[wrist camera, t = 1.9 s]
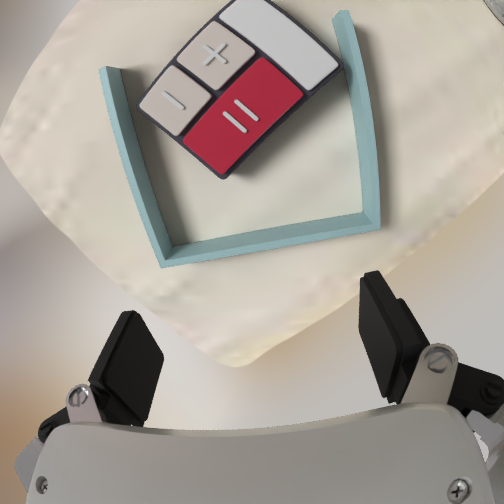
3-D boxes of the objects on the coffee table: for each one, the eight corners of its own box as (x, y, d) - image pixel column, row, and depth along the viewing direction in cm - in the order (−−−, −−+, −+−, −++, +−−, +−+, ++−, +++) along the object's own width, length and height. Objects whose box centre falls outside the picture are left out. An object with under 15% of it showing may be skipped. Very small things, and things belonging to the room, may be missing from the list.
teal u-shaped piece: (339, 19, 18) (348, 10, 15) (370, 218, 28) (380, 229, 25) (113, 71, 21) (98, 69, 18) (168, 254, 31) (161, 268, 28)
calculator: (129, 107, 20) (248, -18, 14) (148, 105, 24) (251, -2, 17) (222, 184, 23) (349, 65, 17) (228, 171, 27) (337, 69, 21)
